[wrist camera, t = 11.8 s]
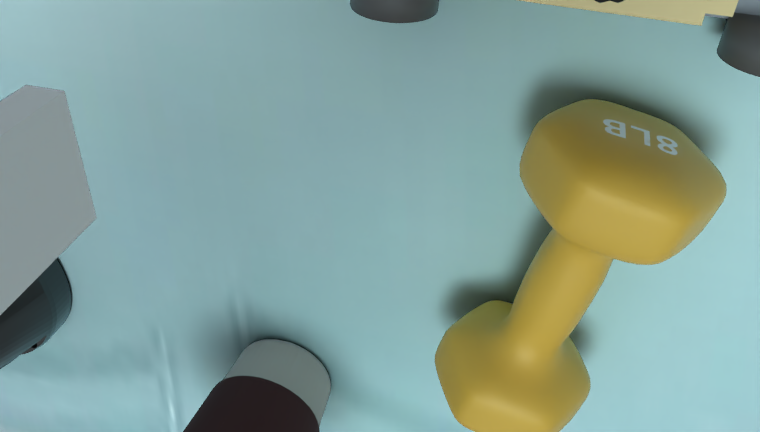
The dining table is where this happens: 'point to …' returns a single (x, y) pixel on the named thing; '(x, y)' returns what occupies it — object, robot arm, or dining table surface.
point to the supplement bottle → (609, 0)
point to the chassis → (668, 3)
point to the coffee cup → (267, 392)
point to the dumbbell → (575, 259)
